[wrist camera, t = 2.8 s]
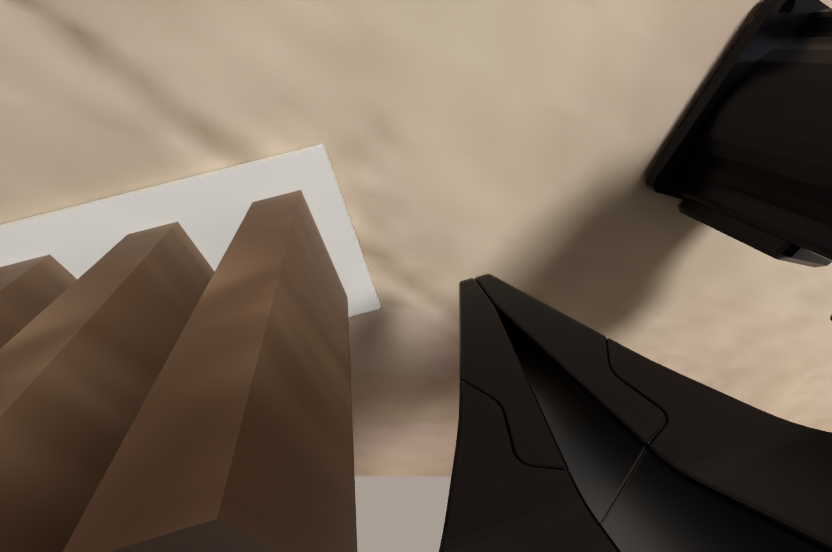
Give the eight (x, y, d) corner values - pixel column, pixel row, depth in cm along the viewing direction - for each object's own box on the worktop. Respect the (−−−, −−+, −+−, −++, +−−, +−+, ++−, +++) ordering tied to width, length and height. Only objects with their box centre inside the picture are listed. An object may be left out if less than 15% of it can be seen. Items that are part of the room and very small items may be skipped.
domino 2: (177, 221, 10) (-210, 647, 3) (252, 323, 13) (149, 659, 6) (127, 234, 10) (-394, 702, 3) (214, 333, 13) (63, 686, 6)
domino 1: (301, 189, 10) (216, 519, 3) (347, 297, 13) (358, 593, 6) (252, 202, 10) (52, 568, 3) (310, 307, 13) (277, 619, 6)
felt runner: (323, 143, 10) (323, 146, 10) (379, 302, 14) (380, 308, 14) (-356, 313, 9) (-380, 323, 9) (-78, 429, 13) (-88, 438, 13)
